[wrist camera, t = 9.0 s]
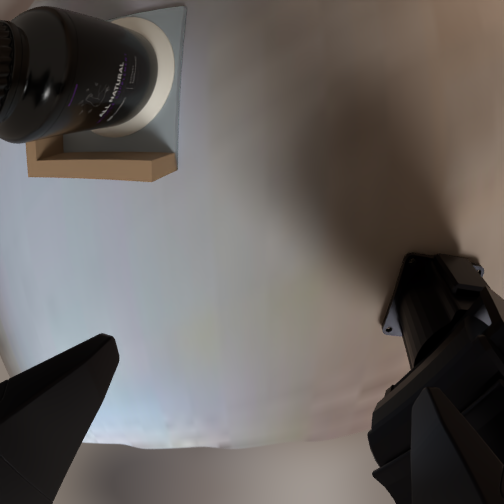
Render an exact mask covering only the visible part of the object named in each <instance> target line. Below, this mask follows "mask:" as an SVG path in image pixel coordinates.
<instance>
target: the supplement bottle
mask: <svg viewBox="0 0 504 504" xmlns="http://www.w3.org/2000/svg"><path fill="white" fill-rule="evenodd" d="M157 77H158V60H157V56H156V53H155V50H154V48H153V46H152V45H151V43H150V42H149V41H148V39H147V38H146V37H144V36H143V35H142V34H140V33H138V32H136V31H134V30H131V29H128V28H126V27H123V26H120V25H117V24H114V23H111V22H108V21H104V20H101V19H98V18H95V17H91V16H88V15H84V14H80V13H77V12H73V11H69V10H65V9H60V8H56V7H48V6H41V7H36V8H32V9H30V10H27V11H25V12H23V13H21V14H20V15H18V16H17V17H15V18H14V19H13V20H11V21H3V20H0V138H1V139H3V140H5V141H7V142H10V143H16V144H20V143H27V142H32V141H37V140H41V139H46V138H51V137H55V136H60V135H66V134H71V133H77V132H82V131H88V130H95V129H101V128H107V127H113V126H117V125H121V124H123V123H125V122H127V121H129V120H131V119H132V118H134V117H135V116H136V115H137V114H138V113H139V112H140V111H141V110H142V109H143V108H144V107H145V105H146V104H147V103H148V101H149V99H150V98H151V96H152V93H153V91H154V89H155V86H156V82H157Z"/></svg>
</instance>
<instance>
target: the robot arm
mask: <svg viewBox="0 0 504 504" xmlns="http://www.w3.org/2000/svg"><path fill="white" fill-rule="evenodd" d="M410 259H414V261H413V262H412V263H409V260H410ZM477 270H479V272H478V271H477ZM483 274H484V269H483V267H482V266H481V265H479V264H475V263H470V262H469V260H468V259H466V258H461V257H455V256H450V255H444V254H437V255H435V256H431V255H425V254H419V253H413V252H412V253H408V254H407V255H406V256H405V258H404V260H403V264H402V267H401V271H400V274H399V277H398V280H397V284H396V287H395V290H394V293H393V296H392V299H391V302H390V305H389V308H388V311H387V313H386V316H385V319H384V322H383V325H382V331H383V333H384V334H386V335H393V336H402V337H403V341H404V344H405V348H406V352H407V356H408V360H409V364H410V368H411V371H409V372H408V373H407V374H406V375H405V376H404V377H403V378H402V379H401V380H400V381H399V382H397V383H396V384H395V385H392V386H391V387H390V388H388V389H387V390H386V393H385V397H384V398H383V399H382V400H380V401H379V402H378V403H377V405H376V407H375V410H374V412H373V416H372V427H371V428H372V429H371V430H370V431H369V432H368V441H369V445H370V449H371V452H372V454H373V456H374V459H375V461H376V462H377V464H378V466H379V467H380V468H378V469H376V470H375V471H373V473H372V475H373V477H374V478H375V479H376V480H377V481H379V482H380V483H381V484H382V485H383V486H384V487H385V488H386V489H387V490H388V492H389V493H390V494H391V496H392V497H393V499H394V500H395V503H396V504H504V300H503V299H502V298H501V297H500V296H499V295H497V294H496V293H495V292H494V291H493V290H491V289H490V287H489V286H488V284H487V283H486V282H485V280H484V279H483V278H482V277H483ZM388 327H391V328H390V329H386V328H388ZM118 363H119V353H118V349H117V345H116V341H115V339H114V337H113V336H110V335H107V334H103V333H101V334H98V335H96V336H94V337H92V338H90V339H88V340H86V341H84V342H82V343H80V344H78V345H76V346H74V347H72V348H70V349H68V350H66V351H64V352H62V353H60V354H58V355H56V356H54V357H52V358H50V359H48V360H46V361H44V362H42V363H40V364H38V365H36V366H34V367H32V368H30V369H28V370H26V371H24V372H22V373H20V374H18V375H16V376H14V377H12V378H9V380H5V381H3V382H1V383H0V504H52V503H53V501H54V499H55V496H56V494H57V492H58V490H59V488H60V486H61V484H62V482H63V479H64V477H65V475H66V473H67V471H68V469H69V467H70V465H71V463H72V461H73V459H74V457H75V455H76V453H77V451H78V449H79V447H80V445H81V443H82V441H83V439H84V437H85V435H86V433H87V431H88V429H89V427H90V425H91V423H92V422H93V420H94V418H95V416H96V414H97V412H98V410H99V408H100V406H101V404H102V402H103V400H104V398H105V395H106V393H107V390H108V388H109V385H110V383H111V380H112V378H113V375H114V373H115V371H116V368H117V366H118Z"/></svg>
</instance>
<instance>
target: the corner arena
mask: <svg viewBox="0 0 504 504" xmlns="http://www.w3.org/2000/svg"><path fill="white" fill-rule="evenodd" d="M186 12H187V8H186V7H185V6H178V7H171V8H164V9H158V10H152V11H146V12H141V13H136V14H131V15H127V16H122V17H118V18H114V19H110V20H106V21H108V22H111V23H114V24H117V25H120V26H123V27H126V28H128V29H131V30H134V31H136V32H138V33H140V34H142V35H143V36H144V37H146V38H147V39H148V41H149V42H150V43H151V45H152V46H153V48H154V50H155V53H156V56H157V60H158V77H157V82H156V86H155V89H154V91H153V93H152V96H151V98H150V99H149V101H148V103H147V104H146V105H145V107H144V108H143V109H142V110H141V111H140V112H139V113H138V114H137V115H136V116H135V117H134V118H132V119H131V120H129V121H127V122H125V123H123V124H121V125H117V126H113V127H107V128H101V129H95V130H88V131H82V132H77V133H71V134H66V135H60V136H55V137H51V138H46V139H41V140H37V141H32V142H27V143H26V154H27V166H28V177H56V178H88V179H110V180H128V181H143V182H153V181H155V180H157V179H159V178H161V177H163V176H166V175H168V174H170V173H172V172H174V171H176V170H178V125H179V101H180V82H181V67H182V54H183V42H184V31H185V21H186Z"/></svg>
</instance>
